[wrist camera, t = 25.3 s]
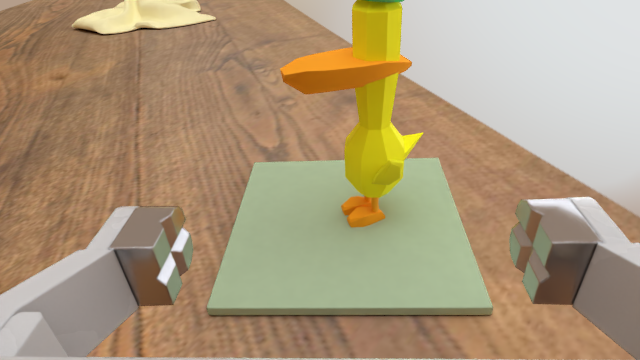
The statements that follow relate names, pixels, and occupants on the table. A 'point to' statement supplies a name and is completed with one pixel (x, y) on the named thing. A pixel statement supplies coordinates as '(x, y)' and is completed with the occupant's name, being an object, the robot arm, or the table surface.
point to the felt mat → (347, 247)
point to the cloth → (143, 16)
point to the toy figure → (364, 102)
